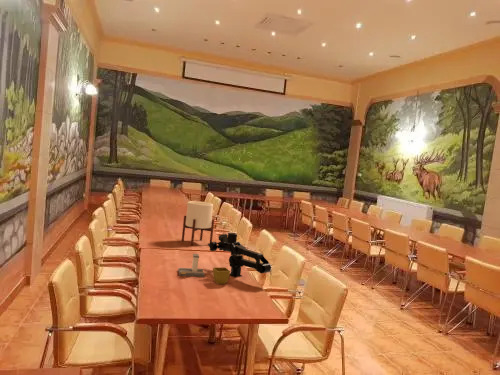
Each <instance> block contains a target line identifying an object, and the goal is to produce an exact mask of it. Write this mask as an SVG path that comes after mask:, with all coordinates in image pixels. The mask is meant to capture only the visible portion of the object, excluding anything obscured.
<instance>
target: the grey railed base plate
mask: <svg viewBox="0 0 500 375" xmlns="http://www.w3.org/2000/svg"><path fill="white" fill-rule="evenodd" d="M177 272H178V274H179V277H195V278H196V277H202V278H205V272H204V268H198V269H197V272H192V267H178V270H177Z"/></svg>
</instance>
